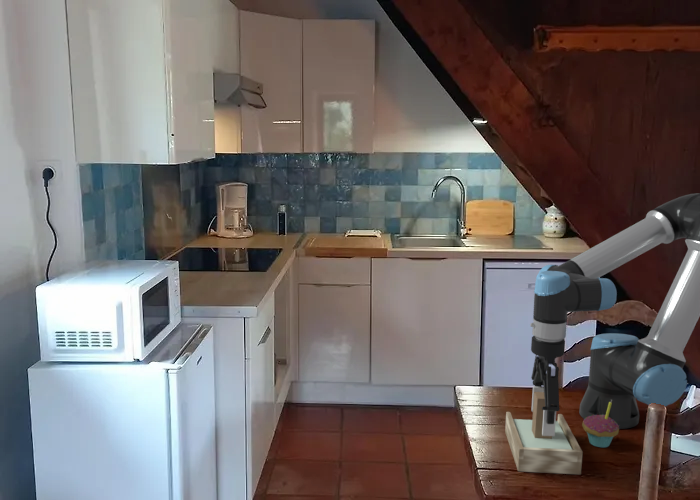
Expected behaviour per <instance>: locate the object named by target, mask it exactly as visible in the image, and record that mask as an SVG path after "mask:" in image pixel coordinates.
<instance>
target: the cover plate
mask: <svg viewBox="0 0 700 500" xmlns="http://www.w3.org/2000/svg"><path fill="white" fill-rule="evenodd" d="M542 407H545V398H544V392H534V404H533V412H532V419H519V418H518V419H517V418H513V421H514V424H515V426H516V429H517V432H518V434H519V437H520V440H521V443H522V445H523V447H530V448H551V449H572V448H571V446H570V444H569V442H568V440H567V438H566V437H565V435H564V433H563V431H562V429H561V427H560V425H559V423H558V420H556V423H555V436H543V435H542V426H543V412H544V410H542Z"/></svg>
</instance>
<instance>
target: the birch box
mask: <svg viewBox="0 0 700 500" xmlns="http://www.w3.org/2000/svg"><path fill="white" fill-rule="evenodd" d="M513 419H514V418H513V416H512V413H511V412H510V411H506V413H505V428H504V429H505V430H504V433H505V436H506V439H507V441H508V445H509V448H510V450H511V455H512V457H513V460H514V464H515V465H516V469H517V472H523V473H524V472H525V473H546V474H561V475H563V474H564V475H565V474H566V475H582V464H583V453H584V452H583V450H582V448H581V446H580V445H579V443H578V441H577V439H576V436H574V434H573V432H572V430H571V428H570V426H569V425H568V422H567V421H566V419H565V417H564V415H563V414H562V413H558V414H557V421H558V423H559V425H560V427H561V429H562V431H563V433H564V435H565V437H566V438H567V440H568V442H569V444H570V446H571V448H572V449H551V448H530V447H523V445H522V443H521V440H520V437H519V434H518V432H517V429H516V426H515V424H514V421H513Z"/></svg>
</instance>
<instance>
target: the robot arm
mask: <svg viewBox="0 0 700 500" xmlns="http://www.w3.org/2000/svg"><path fill="white" fill-rule="evenodd" d="M679 239H684V241H685V245H686V246H687V251H686V253H685V256H684V257H683V260H682V262H681V264H680V266H679V268H678V271H677V272H676V275H675V277H674V278H673V281H672V283H671V285H670V287H669V290H668V292H667V293H666V296H665V298H664V300H663V302H662V304H661V307H660V309H659V310H658V313H657V315H656V316H655V319H654V322H653V323H652V326H651V328H650V330H649V333H648V335H647V336H645V337H644V338H641V339H639V338H638V337H637V336H635V335H632V334H626V333H613V332H612V333H601V334H597V335H595V336H594V337H593V338H592V340H591V341H592V342H591V347H590V361H589V369H588V370H589V372H588V383H587V385H588V386H587V388H586V390H585V393H584V395H583V397H582V399H581V401H580V404H579V411H578V412H579V415H580V417H581V418H582V419H583V420H584V419H585V418H586V417H588V416H591V415H606V412H607V408H608V404H609V402H611V400H612V402H611V403H612V404H611V408H610V412H609V415H608V417H610V418H611V419H613V420H614V421H615V422H616V423H617V424H618V425H619V430H621V429H623V430H624V429H625V430H626V429H630V428H634V427H636V426H638V424H639V422H640V411H639V407H638V403H637V401H638V402H641V403H643V404H645V405H647V406H650V405H649V404H651V403H656V404H661V405H664V406H665V407H667V406H670V405H672V404H674V403H676V402H677V401H678V400H679V399H680V398H681V397H682V396H683V394H684V392H685V391H686V388H687V385H688V380H687V374H686V372H685V371H684V369H683V368H684V366H685V364H686V362H687V360H686V358H685V356H684V353H683V352H684V350H685V347H686V346H687V343H688V342H689V340H690V337H691V335H692V333H693V331H694V329H695V326H696V324H697V322H698V321H699V318H700V193H690V194H685V195H682V196H679V197H677V198H673V199H672V200H669V201H667V202H664V203H663V204H661V205H659V206H657V207H655V208H653V209H652V210H649V211H648V212H647V214H646V215H645V218H644V219H641V220H640V221H637V222H636V223H635V224H633V225H630V226H629V227H627V228H625V229H623V230H621V231H619V232H618V233H616V234H614V235H612V236H610V237H609V238H607V239H606V240H604V241H602V242H600V243H598V244H596V245H594V246H593V247H591V248H589V249H587V250H586V251H584V252H582V253H580V254H578V255H576V256H575V257H572V258H571V259H569V260H567V261H565V262H564V263H561V264H560V265H558V264H546V265H544V266H543V267H541V269H539V271H538V273H537V275H536V277H535V285H534V291H533V293H534V294H533V295H534V297H533V299H534V300H533V314H532V315H533V318H532V321H533V322H530V324H529V325H530V327H532V335H533V336H531V343H530V344H531V345H530V351H531V353H532V354H534V355H535V358H534V363H533V367H532V373H531V377H530V379H531V380H532V395H531V396H532V398H531V412H532V413H533V404H534V392H544V398H545V407H542V410H544V412H543V426H542V435H543V436H555V423H556V421H557V420H556V419H557V412H559V411H560V409H561V408H560V393H559V392H560V391H559V390H560V388H559V386H560V385H559V384H560V383H559V374H560V373H559V371H560V368H559V366H558V364H557V362H556V358H561V357H563V356H564V354H565V350H566V349H565V347H566V345H565V344H566V340H565V338H566V336H567V326H568V325H567V323H568V322H567V320H568V313H575V312H576V313H577V312H592V311H594V312H600V311H604V310H609V309H611V308H613V307H614V306H615V304H616V302H617V295H618V294H617V293H618V292H617V288H616V285H615V284H614V282H613V281H612V280H611V279H609V278H606V277H605V278H603V277H602V276H604V275H606V274H608V273H610V272H612V271H614V270H615V269H617V268H619V267H621V266H622V265H624V264H627V263H628V262H630V261H632V260H634V259H635V258H637V257H638V256H640V255H642V254H645V253H646V252H648V251H650V250H652V249H654V248H655V247H657V246H659V245H660V244H665V245H667V244H668V245H669V244H670V243H672V242H674V241H676V240H679Z"/></svg>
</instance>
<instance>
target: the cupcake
mask: <svg viewBox="0 0 700 500" xmlns="http://www.w3.org/2000/svg"><path fill="white" fill-rule="evenodd" d="M611 402H612V400H611ZM611 402H609V404H608V408H607V412H606V415H591V416H588V417H586V418H585V419H584V418H583V420H582V423H581V426H582V428H583V430H584V431H585V433H586V434H587V437H588V441H589V444H590V445H592V446H594V447H596V448H608V447H610V445H611V443H612V440H613V439H614V437H616V436H617V435H619V432H620V431H619V430H620V429H619V425H618V424H617V423H616V422H615V421H614V420H613V419H611V418H610V417H608V415H609V412H610V408H611V404H612V403H611Z"/></svg>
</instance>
